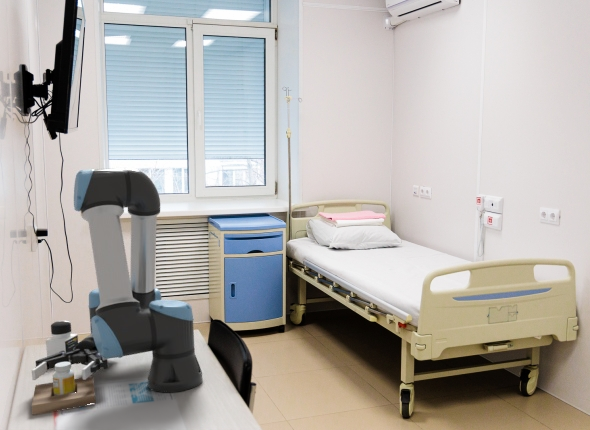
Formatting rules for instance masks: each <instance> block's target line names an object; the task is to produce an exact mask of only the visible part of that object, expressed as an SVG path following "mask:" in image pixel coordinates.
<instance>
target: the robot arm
mask: <svg viewBox="0 0 590 430" xmlns="http://www.w3.org/2000/svg"><path fill="white" fill-rule="evenodd" d="M73 186H74V187H73V207H74V211H75V212H80V213H81V218H82V219H83V220H85V221H86V222H87V223H88V229H89V234H90V241H91V249H92V255H93V262H94V268H95V275H96V282H97V289H94V290H91V291H90V292H89V293H88V311H89V322H90V334H89V335H87V336H86V337H84V338H83V339H82V340H80V341H78V344H77V345H76V347H75V349H74V350H73V351H71V352H68V353H65V351H60V352H59V353H56V354H54V355H51V356H48V357H47V356H45V357H42V358H40V359H37V360H35V367H34V368H33V369H31V377H32V378H31V379H32V381H36V380H38V379H39V378H40V377H42V376H43V375H45V374H46V373H47V372H48V371H49V370H51V369H52V370H53V369H55V364H57V363H60V362H70V363H71V366H72V365H78V364H81V365H83V366H84V367H83V368H82V369H81V372H82V373H81V375H82V378H83V380H86V379H87V378H88V377H91V375H93V373H96V372H97V371H100V370H101V369H102V370H103V369H104V370H108V368H109V362H108V361H109V360H108V359H116V358H119V359H121V358H123V357H127V356H132V355H137V354H138V355H139V354H143V353H148V352H151V353H152V359H151V364H150V368H149V372H148V375H147V387H148V388H149V390H151V389H152V390H151V391H154V392H159V393H176V392H183V391H187V390H190V389H193V388H196V387H197V386H199V385H200V384H202V382H203V371H202V369H201V366H200V364H199V361H198V359H197V355H196V351H195V350H196V349H195V332H194V330H195V329H194V314H193V308H192V305H190V304H189V303H188V302H186V301H183V300H176V299H162V294H161V291H160V289H158V288H155V285H156V284H155V281H156V280H155V277H156V253H157V252H156V251H157V250H156V248H157V222H158V221H157V217H158V215H159V214H160V213H161V199H160V194H159V191H158V189H157V187H156V185H155V184H154V182H153V180H151V178H150V177H149V176H148V175H147V174H146V173H145V172H143V171H141V170H140V169H137V168H134V167H120V168H117V167H116V168H91V169H82V170H79V171H78V172H77V173H76V175H75V179H74V185H73ZM126 208H127V213H128V214H129V215H130V272H129V265H128V261H127V255H126V249H125V242H124V236H123V230H122V225H121V224H122V223H121V219H120V218H121V217H122V215H123V214H124V213H125V209H126Z"/></svg>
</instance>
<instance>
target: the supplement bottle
mask: <svg viewBox="0 0 590 430" xmlns="http://www.w3.org/2000/svg"><path fill="white" fill-rule="evenodd" d="M70 362H71V361H69V362H60V363H57V364H55V368H54V372H53V374H52V382H53V390H54V396H57V395H63V394H69V393H75V379H76V378H75V372H74V370H73V369H71V368H72V365H71V363H70Z"/></svg>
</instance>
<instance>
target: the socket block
mask: <svg viewBox="0 0 590 430" xmlns="http://www.w3.org/2000/svg"><path fill="white" fill-rule="evenodd" d="M74 379H75V392H76V393H69V394H63V395H57V396H54V390H53V381H52V382H47V383H41V384H39V383H38V384H35V387H34V392H33V397H32V402H31V411H32V412H31V414H32V416H34V415H42V414H46V413H53V412H58V411H57V410H60V411H63V410H62V409H66V410H68V409H67V408H72V409H74V408H73V407H78V408H80V407H79V406H84V407H86V406H85V405H87V404H90V403H95V404H96V395H95V394H96V392H95V381H94V376H89V377H88V378H87V379H86V380H83V377H80V378H74Z"/></svg>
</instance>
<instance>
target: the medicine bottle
mask: <svg viewBox="0 0 590 430" xmlns="http://www.w3.org/2000/svg"><path fill="white" fill-rule="evenodd" d="M71 323H72V322H70V321H68V320H59V321H54V322H53V323H51V325H50V331H51V337H49V338H47V339H46V340H45V346H46V348H45V349H46V357H48V356H51V355H54V354H56V353H59V352H60V351H65V353H68V352H71V351H73V350H74V349H75V347H76V345H77V344H78V343H79V336H78V334H77V333H72V325H71Z"/></svg>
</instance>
